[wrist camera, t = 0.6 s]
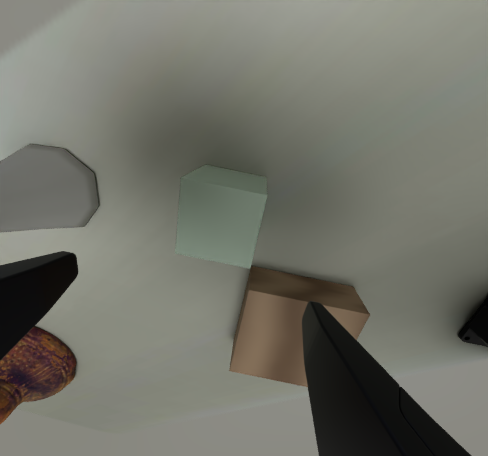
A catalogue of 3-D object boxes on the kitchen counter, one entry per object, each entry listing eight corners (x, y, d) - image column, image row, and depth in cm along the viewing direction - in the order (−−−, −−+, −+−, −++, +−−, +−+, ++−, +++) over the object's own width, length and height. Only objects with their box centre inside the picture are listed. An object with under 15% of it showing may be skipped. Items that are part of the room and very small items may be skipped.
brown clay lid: (95, 378, 31) (48, 446, 24) (25, 386, 33) (-36, 452, 26) (46, 312, 26) (-28, 373, 20) (-31, 327, 28) (-122, 386, 22)
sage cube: (266, 176, 18) (267, 195, 13) (253, 232, 20) (250, 268, 15) (205, 164, 18) (180, 177, 13) (199, 220, 20) (174, 253, 15)
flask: (93, 237, 22) (-31, 313, 12) (18, 204, 21) (-173, 260, 12) (108, 168, 19) (-37, 200, 10) (22, 127, 18) (-223, 122, 9)
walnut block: (352, 284, 22) (370, 314, 18) (319, 354, 26) (329, 391, 22) (251, 263, 22) (249, 290, 18) (234, 337, 26) (229, 370, 22)
